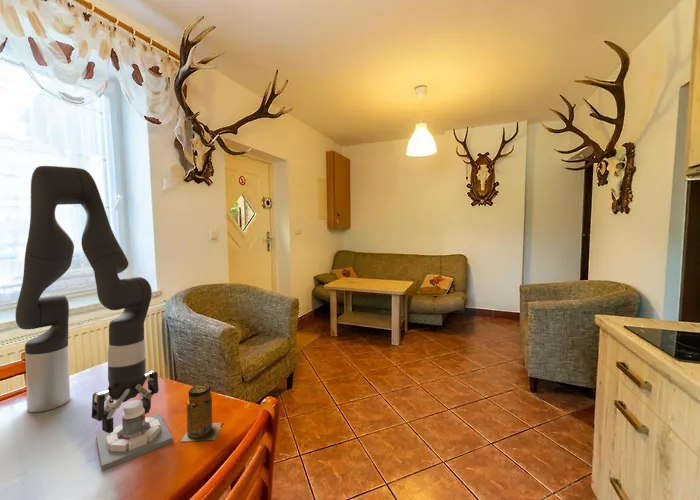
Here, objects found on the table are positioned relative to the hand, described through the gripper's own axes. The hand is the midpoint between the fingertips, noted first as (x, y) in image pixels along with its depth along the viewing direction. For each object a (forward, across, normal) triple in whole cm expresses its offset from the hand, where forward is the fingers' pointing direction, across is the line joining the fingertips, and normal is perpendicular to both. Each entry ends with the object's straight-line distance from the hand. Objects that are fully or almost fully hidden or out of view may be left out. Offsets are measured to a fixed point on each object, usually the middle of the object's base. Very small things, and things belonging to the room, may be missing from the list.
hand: (127, 421), depth 76 cm
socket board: (+6, -1, 0) cm, 6 cm away
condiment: (+6, -11, +13) cm, 18 cm away
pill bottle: (+5, -1, 0) cm, 5 cm away
